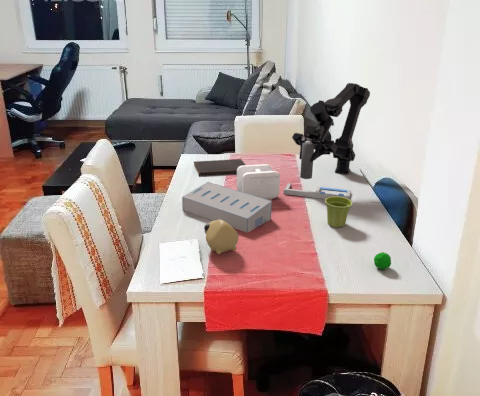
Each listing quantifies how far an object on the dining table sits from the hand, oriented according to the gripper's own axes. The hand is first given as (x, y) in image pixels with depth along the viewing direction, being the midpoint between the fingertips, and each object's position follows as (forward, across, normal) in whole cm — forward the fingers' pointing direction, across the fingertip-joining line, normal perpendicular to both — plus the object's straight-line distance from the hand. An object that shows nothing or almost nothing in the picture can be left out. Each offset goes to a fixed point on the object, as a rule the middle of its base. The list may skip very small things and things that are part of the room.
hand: (305, 160), depth 201 cm
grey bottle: (+4, 0, +6) cm, 8 cm away
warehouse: (+38, -8, -18) cm, 42 cm away
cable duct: (+8, +5, +11) cm, 15 cm away
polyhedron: (+36, +52, -17) cm, 65 cm away
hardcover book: (+11, -44, +9) cm, 46 cm away
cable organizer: (+22, -11, -2) cm, 24 cm away
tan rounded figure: (+52, +8, -34) cm, 63 cm away
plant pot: (+23, +26, -4) cm, 35 cm away
